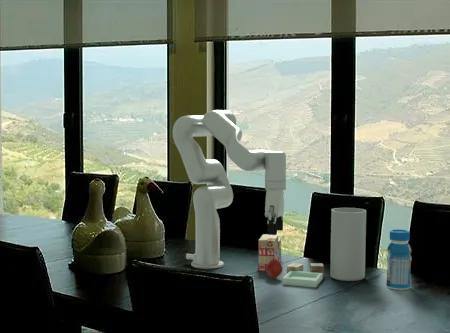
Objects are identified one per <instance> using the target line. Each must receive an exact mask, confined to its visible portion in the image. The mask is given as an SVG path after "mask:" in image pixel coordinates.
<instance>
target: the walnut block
mask: <svg viewBox="0 0 450 333" xmlns="http://www.w3.org/2000/svg"><path fill="white" fill-rule="evenodd" d="M324 267H325V266H324V264H323V263H321V262H319V263H317V262H316V263H315V262H314V263H313V262H312V263H311V262H310V270H309V272H313V273H323V274H324Z"/></svg>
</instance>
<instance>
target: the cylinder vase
mask: <svg viewBox="0 0 450 333" xmlns="http://www.w3.org/2000/svg"><path fill="white" fill-rule="evenodd" d="M330 220H331V222H330V225H331V226H330V231H331V232H330V274H329V275H330V277H331V278H332V279H334V280H337V281H342V282H343V281H344V282H357V281H361V280H363V279H365V276H366V242H367V241H366V239H367V238H366V237H367V210H366V209H364V208H356V207H338V208H337V207H335V208H331V217H330Z"/></svg>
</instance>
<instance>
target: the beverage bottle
mask: <svg viewBox="0 0 450 333" xmlns="http://www.w3.org/2000/svg"><path fill="white" fill-rule="evenodd" d="M410 235H411V233H410V231H409V230H407V229H397V228H396V229H390V230H389V240H390V242H389V243H388V246H387V254H386V263H387V264H386V288H388V289H390V290H394V291H406V290H410V289H411V271H412V270H411V265H412V255H411V254H412V247H411V246H410V244H409V241H410V238H411V236H410Z"/></svg>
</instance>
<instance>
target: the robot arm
mask: <svg viewBox="0 0 450 333" xmlns="http://www.w3.org/2000/svg"><path fill="white" fill-rule="evenodd" d="M210 136H211V137H212V136H213V137H214V138H216V139H217V140H218V141H219V142H220V143H221V144H222V145H223V146H224V147H225V150H226V154H227V156H228V158H229V159H230V161H231V162H232V163H234V164H235V165H236V166H237V167H239V168H240V169H241V170H243V171H245V172H254V171H255V172H257V171H264V175H265V176H264V189H265V191H266V192H265V202H264V204H265V205H264V206H265V207H264V211H265V212H264V216H265V218H266V219H267V223H266V224H267V228H266V230H267V233H266V234H268V235H278V234H277V232H278V231H279V232H280V231H281V232H283V231H284V216H283V215H284V213H285V196H284V195H285V194H284V191H285V190H286V189H287V155H286V153H285V151H281V150H278V151H277V150H267V149H253V150H249V149H247V148H246V147H245V146H244V145H242V144H241V139H242V137H243V131H242V130H241V128H239V127H238V126H237V118H236V116H235V114H234V113H233V112H232V111H230V110H227V109H224V110H223V109H214V110H213V109H212V110H209V111H207V112H206V113H204V114H203V115H202V114H201V115H199V114H198V115H197V114H196V115H194V114H193V115H190V114H188V115H184V116H180V117H179V118H178V119H177V120H175V122H174V124H173V126H172V138H173V142H174V144H175V146H176V148H177V150H178V152H179V154H180V157H181V160H182V162H183V166H184V168H185V172H186V174H187V177H188V179H189V181H190V182H191V183H192V184H193V185H194V184H195V185H202V186H199V187H198V188H196V190H194V192H193V194H192V202H193V207H194V216H195V221H194V222H195V253H193V254H192V253H186V254H185V259H186V260H192V262H191V263H190V264H191V267H193V268H196V269H204V270H210V269H213V270H214V269H218V268H219V269H220V268H222V267H224V264H225V263H224V261H222V260H220V256H221V252H220V251H221V250H220V245H221V244H220V242H221V241H220V240H221V237H220V236H221V234H220V233H221V228H220V227H221V223H220V222H221V221H220V217H219V213H218V211H217V210H218V209H223V208H227V207H229V206H230V205H231V204H232V203H233V201H234V200H233V199H234V192H233V188H232V186H231V183H230V181H229V177H228V175H227V173H226V170H225V168H224V165H222V163H221V162H220V161H218V159H211V158H208V159H206V157H205V156H204V153H203V150H202V148H201V145H199V143H198V142H197V141H196V140H195V139H194V137H196V138H197V137H210ZM206 184H207V185H206Z"/></svg>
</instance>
